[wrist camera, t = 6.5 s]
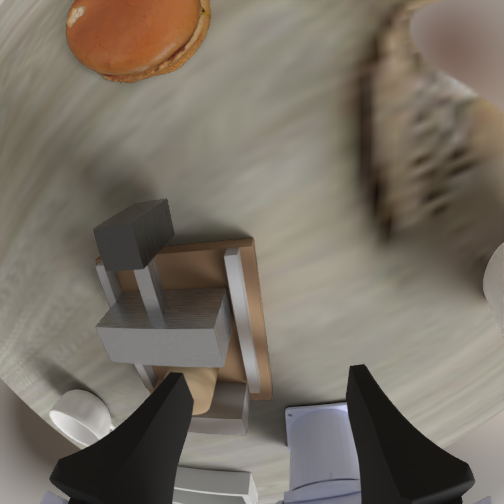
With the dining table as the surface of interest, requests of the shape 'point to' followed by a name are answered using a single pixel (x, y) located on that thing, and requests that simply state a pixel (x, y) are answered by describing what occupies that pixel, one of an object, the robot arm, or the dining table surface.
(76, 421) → the teacup
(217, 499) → the box
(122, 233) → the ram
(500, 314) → the white plant pot
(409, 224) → the dining table surface
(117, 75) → the burger
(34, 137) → the dining table surface
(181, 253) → the bench
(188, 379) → the nut
